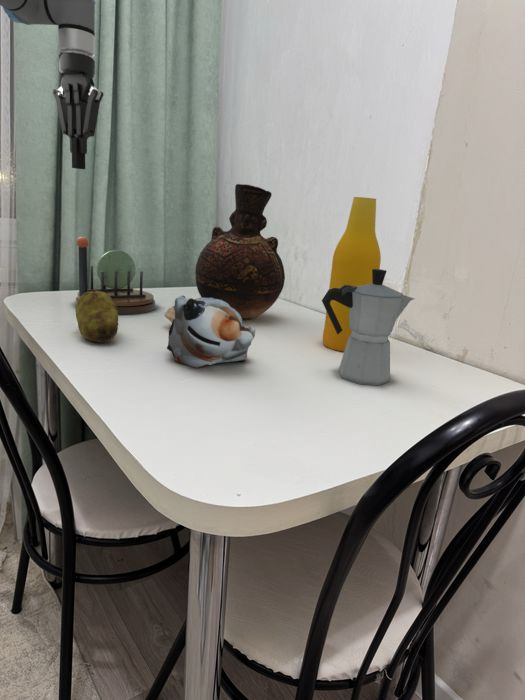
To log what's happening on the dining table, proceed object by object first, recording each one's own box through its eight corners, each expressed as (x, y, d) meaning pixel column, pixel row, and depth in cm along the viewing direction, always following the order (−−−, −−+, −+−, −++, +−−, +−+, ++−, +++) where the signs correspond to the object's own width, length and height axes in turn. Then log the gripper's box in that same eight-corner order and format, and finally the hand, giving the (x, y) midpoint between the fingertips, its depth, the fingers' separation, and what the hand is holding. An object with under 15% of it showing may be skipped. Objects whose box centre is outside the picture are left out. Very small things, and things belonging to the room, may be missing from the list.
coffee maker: (393, 370, 90) (410, 268, 85) (408, 388, 81) (428, 276, 76) (309, 364, 89) (322, 261, 84) (317, 381, 80) (331, 268, 75)
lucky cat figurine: (258, 355, 91) (276, 295, 81) (228, 398, 82) (245, 338, 73) (186, 320, 93) (195, 258, 84) (149, 359, 85) (155, 295, 75)
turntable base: (58, 305, 115) (58, 298, 115) (112, 295, 131) (112, 289, 131) (121, 318, 109) (121, 311, 108) (169, 306, 124) (170, 300, 124)
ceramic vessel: (182, 318, 114) (188, 178, 106) (204, 304, 130) (211, 183, 122) (273, 329, 111) (287, 186, 102) (285, 314, 127) (297, 190, 119)
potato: (66, 345, 87) (65, 299, 85) (79, 326, 99) (79, 286, 97) (116, 347, 89) (116, 302, 86) (123, 328, 101) (123, 289, 99)
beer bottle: (313, 344, 102) (330, 194, 94) (337, 337, 109) (356, 197, 101) (352, 356, 96) (375, 197, 88) (375, 348, 103) (398, 200, 95)
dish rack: (88, 307, 108) (88, 240, 104) (67, 292, 121) (66, 232, 117) (165, 304, 118) (167, 243, 114) (137, 290, 131) (138, 235, 127)
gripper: (112, 59, 112) (111, 171, 119) (67, 61, 117) (69, 168, 124) (87, 49, 106) (88, 168, 112) (41, 51, 111) (45, 165, 117)
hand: (78, 168), depth 118 cm, fingers closed
